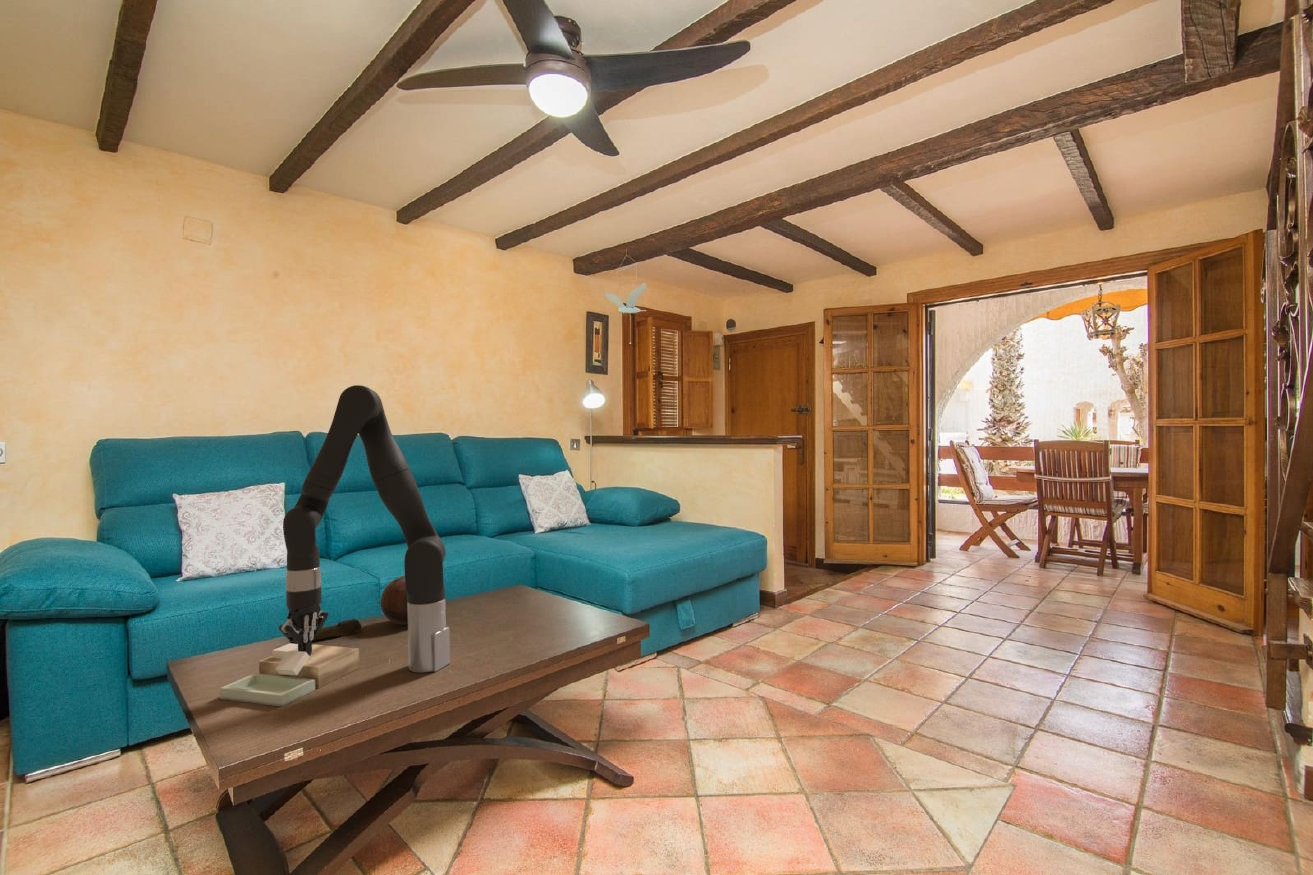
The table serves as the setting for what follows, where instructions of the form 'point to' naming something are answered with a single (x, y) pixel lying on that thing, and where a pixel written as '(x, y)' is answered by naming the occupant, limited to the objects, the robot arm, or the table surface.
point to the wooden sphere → (395, 601)
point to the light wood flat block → (319, 664)
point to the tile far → (284, 650)
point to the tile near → (292, 663)
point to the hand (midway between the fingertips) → (305, 656)
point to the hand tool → (338, 630)
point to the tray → (267, 689)
